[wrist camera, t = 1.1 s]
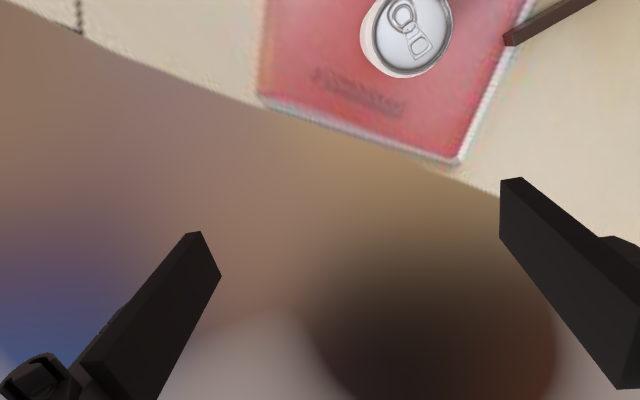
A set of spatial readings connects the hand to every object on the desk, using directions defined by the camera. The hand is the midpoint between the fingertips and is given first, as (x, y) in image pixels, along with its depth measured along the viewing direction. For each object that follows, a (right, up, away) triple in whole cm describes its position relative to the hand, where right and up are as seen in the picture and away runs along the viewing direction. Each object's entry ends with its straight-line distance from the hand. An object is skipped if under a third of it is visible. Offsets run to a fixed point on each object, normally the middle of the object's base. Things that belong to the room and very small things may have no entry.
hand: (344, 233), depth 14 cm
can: (+6, +19, +19) cm, 27 cm away
